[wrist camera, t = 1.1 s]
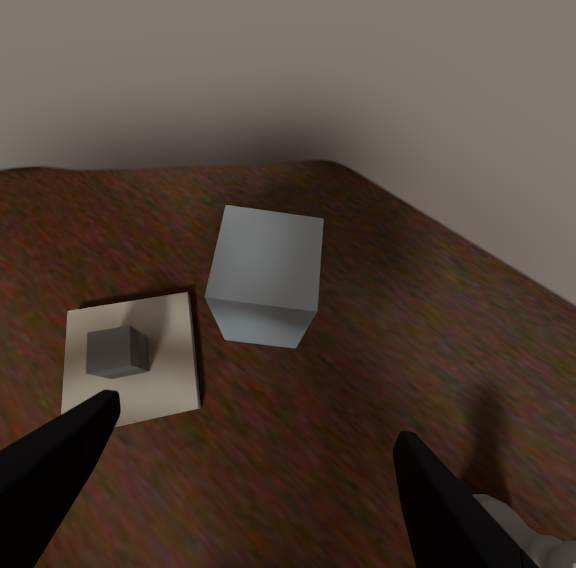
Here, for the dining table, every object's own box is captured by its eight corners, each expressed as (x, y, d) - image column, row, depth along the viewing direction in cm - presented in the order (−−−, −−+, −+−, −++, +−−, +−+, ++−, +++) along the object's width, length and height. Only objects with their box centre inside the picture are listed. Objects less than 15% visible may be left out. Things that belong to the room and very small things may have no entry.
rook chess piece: (441, 500, 21) (537, 546, 14) (496, 484, 22) (614, 521, 15) (466, 579, 20) (590, 680, 12) (525, 560, 20) (674, 644, 13)
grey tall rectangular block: (295, 348, 25) (317, 311, 15) (225, 339, 24) (204, 297, 15) (301, 284, 27) (323, 218, 18) (237, 275, 27) (225, 204, 18)
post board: (200, 408, 22) (187, 407, 18) (68, 437, 21) (21, 443, 17) (189, 296, 26) (176, 274, 21) (75, 314, 24) (36, 294, 20)
